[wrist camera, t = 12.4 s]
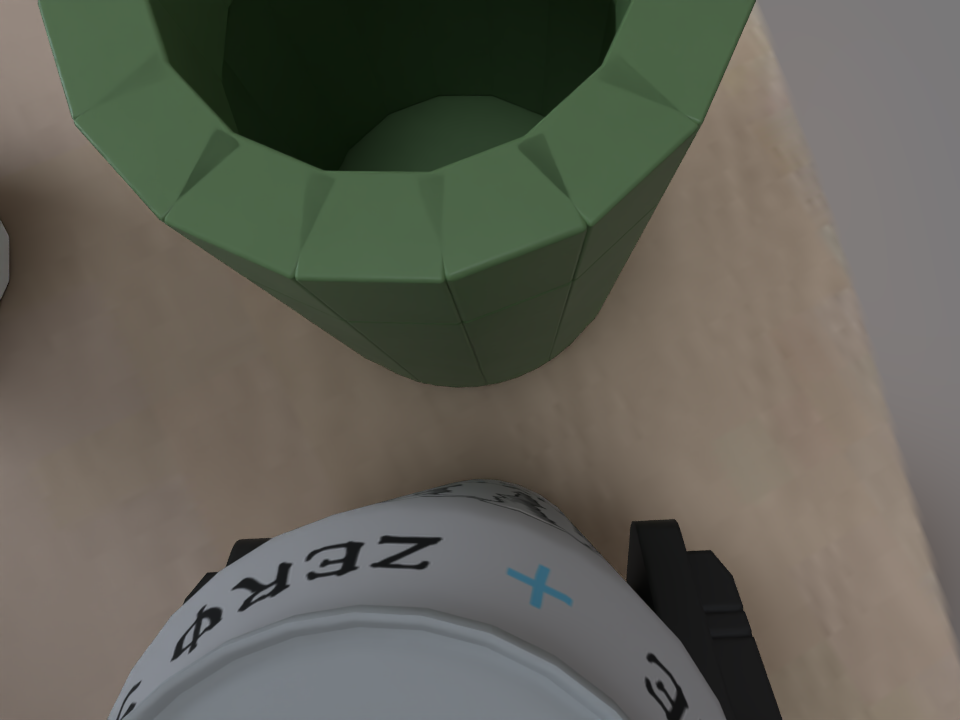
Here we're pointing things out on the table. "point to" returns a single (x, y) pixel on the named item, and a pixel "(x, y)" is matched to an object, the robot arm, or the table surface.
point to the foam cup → (4, 259)
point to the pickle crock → (404, 153)
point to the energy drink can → (420, 624)
